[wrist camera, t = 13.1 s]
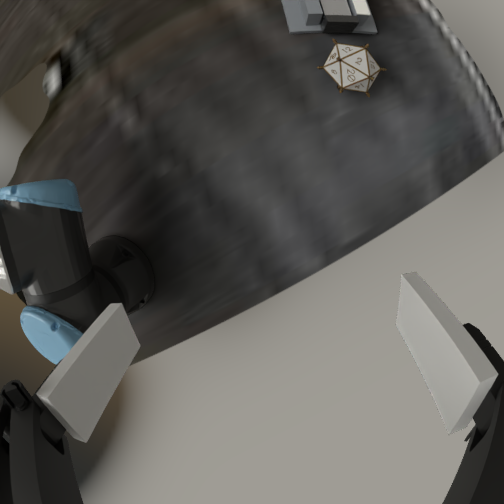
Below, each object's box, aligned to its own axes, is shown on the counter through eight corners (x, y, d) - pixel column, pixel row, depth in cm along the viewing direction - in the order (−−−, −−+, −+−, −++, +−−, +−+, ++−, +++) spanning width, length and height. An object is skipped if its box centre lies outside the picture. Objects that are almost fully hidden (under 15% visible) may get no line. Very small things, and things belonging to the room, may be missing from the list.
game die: (350, 86, 37) (388, 112, 31) (304, 80, 35) (338, 106, 29) (361, 39, 30) (405, 57, 24) (313, 28, 28) (354, 41, 22)
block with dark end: (322, 33, 30) (328, 19, 25) (309, -11, 27) (312, -27, 22) (366, 34, 29) (377, 22, 24) (351, -10, 26) (359, -24, 21)
